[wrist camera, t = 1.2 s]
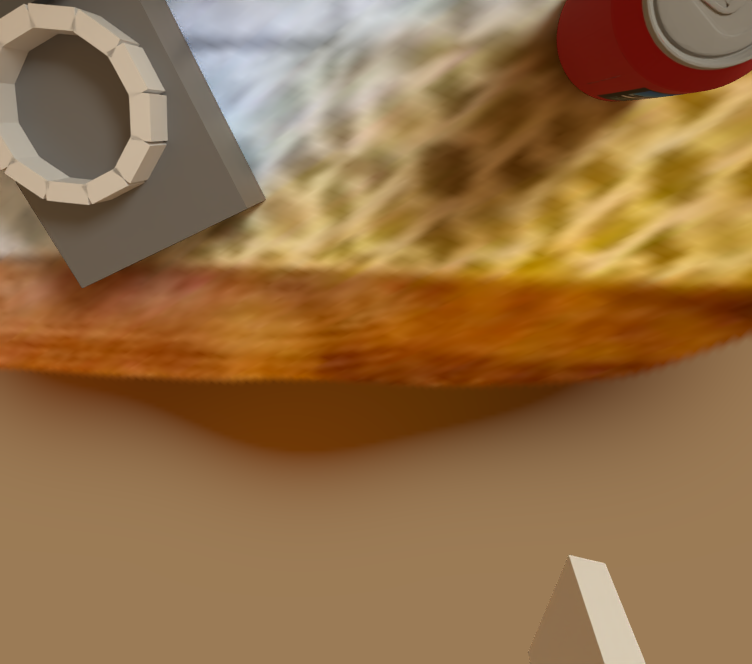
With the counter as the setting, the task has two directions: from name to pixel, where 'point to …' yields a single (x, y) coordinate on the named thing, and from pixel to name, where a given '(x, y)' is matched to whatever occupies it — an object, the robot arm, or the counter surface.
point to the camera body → (113, 131)
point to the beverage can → (654, 46)
